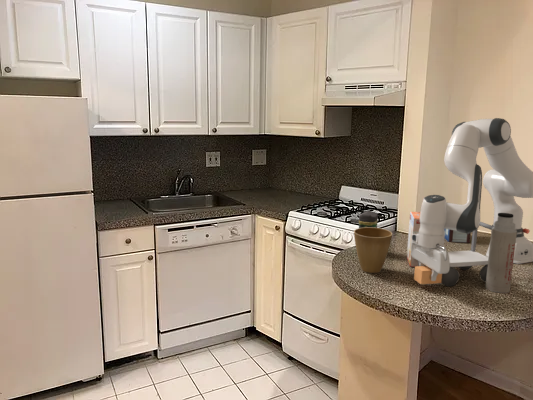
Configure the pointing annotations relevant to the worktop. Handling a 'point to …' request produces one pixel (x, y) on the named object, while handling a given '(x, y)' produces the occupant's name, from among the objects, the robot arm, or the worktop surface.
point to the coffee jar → (368, 219)
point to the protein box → (456, 236)
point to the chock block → (425, 275)
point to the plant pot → (372, 247)
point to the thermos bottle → (501, 254)
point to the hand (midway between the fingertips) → (427, 277)
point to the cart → (466, 261)
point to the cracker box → (413, 229)
